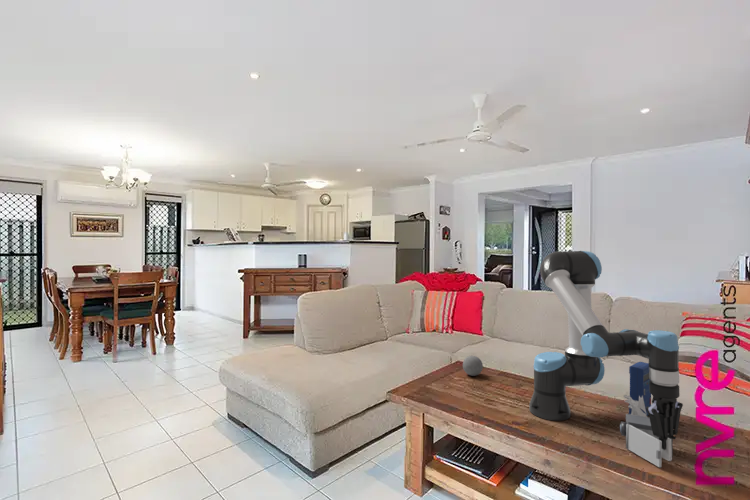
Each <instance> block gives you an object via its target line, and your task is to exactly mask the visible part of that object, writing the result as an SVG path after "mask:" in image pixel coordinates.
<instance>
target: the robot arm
mask: <svg viewBox="0 0 750 500" xmlns="http://www.w3.org/2000/svg"><path fill="white" fill-rule="evenodd" d="M539 270H540V277H541V279H542V282H544V284H545V286H546V287H547V288H550V289H551V290H552V291H553V293H554V295H555V296H556V297H557V299H558V301H559V302H560V304H561V305H562V307H563V308H564V310H565V311H566V313H567V323H568V324H567V325H568V328H567V329H568V347H566V348H565V349H564V353H562V352H559V351H558V352H557V351H554V352H553V351H544V352H540V353H538V354H537V355H535V357H534V359H533V360H534V361H533V392H532V393H533V394H532V395H531V399H530V401H529V406H528V407H529V408H528V409H529V412H530V413H531V414H532V415H534V416H535V417H538V418H540V419H544V420H548V421H558V422H559V421H565V420H569V419H570V418H571V407H570V405H569V401H568V398H567V396H566V390H567V389H566V388H567V387H577V386H580V387H581V386H592V385H597V384H599V383H600V382H602V380H603V379H604V376H605V371H606V369H605V364H604V363H603V359H602V358H605V357H621V356H622V357H623V356H639V357H642V358H645V359H647V360H648V363H649V379H650V381H649V391H650V393H651V396H652V398H651V406H650V407H648V406H647V407H646V410H647V412H648V414H649V415H648V417H649V418H650V423H651V427H652V432H653V435H654V436H657V437H659V440H661V441H662V460H666V461H668V462H671V461H673V457H672V439H673V440H677V439H676V438H677V435H678V431H679V425H680V419H681V412H682V409H683V406H684V404H683V403H682V402H680V401H678V398H679V397H680V395H681V394H680V385H679V384H680V370H679V369H680V368H679V367H680V364H679V362H680V361H679V354H680V352H679V349H680V345H679V339H678V335H677V334H676V333H675V332H673V331H669V330H667V331H665V330H661V329H660V330H659V329H655V330H650V331H647V332H648V333H644V332H640V331H638V330H635V329H629V328H625V329H622V330H620V331H619V332H609V331H608V330H607V328H606V327H605V326H604V325H603V323H602V322H601V320H600V319H599V317H598V316H597V314H596V313H595V312H594V311H593V308H592V288H593V287H595V286H596V280H597V279H598V278H600V277H601V274H602V270H603V269H602V263H601V261H600V258H599V257H598V256H597V255H596V253H594V252H592V251H587V250H585V251H584V250H578V251H576V250H574V251H573V250H571V251H569V250H568V251H567V250H565V251H560V250H559V251H553V252H551V253H548V255H546V256H545V258H543V260H542V261H541V263H540V269H539Z"/></svg>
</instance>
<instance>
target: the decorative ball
mask: <svg viewBox="0 0 750 500" xmlns="http://www.w3.org/2000/svg"><path fill="white" fill-rule="evenodd" d="M483 368H484V365H483V362H482V360H481V359H480V358H479V357H478V356H476V355H469V356H466V357H465V358H464V360H463V362H462V369H463V370H464V371H463V372H464V373H466V374H467V375H469V376H471V377H474V376H478V375H479V374H481V373H482V371H483Z"/></svg>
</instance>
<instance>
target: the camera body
mask: <svg viewBox="0 0 750 500" xmlns="http://www.w3.org/2000/svg"><path fill="white" fill-rule="evenodd" d="M626 424H630V425H631V426H633V427H635V428H637V429H639V430H641V431H643V432H645V433H647V434H649V435H651V436H653V437H655V438H657V439H659V437H657V436H654V435H653V432H652V427H651V423H650V418H649V416H647V417H643V416H637V415H631V414H629V413H625V421H620V423H619V432H620V435H621V436H622V437H623V436H624V437H626ZM673 441H674V439H672V458H673V452H674V451H673V448H674V447H673V444H674V443H673Z"/></svg>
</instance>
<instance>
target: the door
mask: <svg viewBox="0 0 750 500" xmlns="http://www.w3.org/2000/svg"><path fill="white" fill-rule="evenodd" d="M625 449H626V450H629V451H630V452H632V453H633V454H635V455H637V456H639V457H640V458H642V459H643V460H646V461H648V462H650V463H651V464H652V465H655V466H656V467H658V468H660V469H661V468H662V464H663V463H662V460H663V458H662V441H661V440H659V439H657V438H655V437H653V436H651V435H649V434H647V433H645V432H643V431H641V430H639V429H637V428H635V427H633V426H631V425H630V424H626V436H625Z"/></svg>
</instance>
